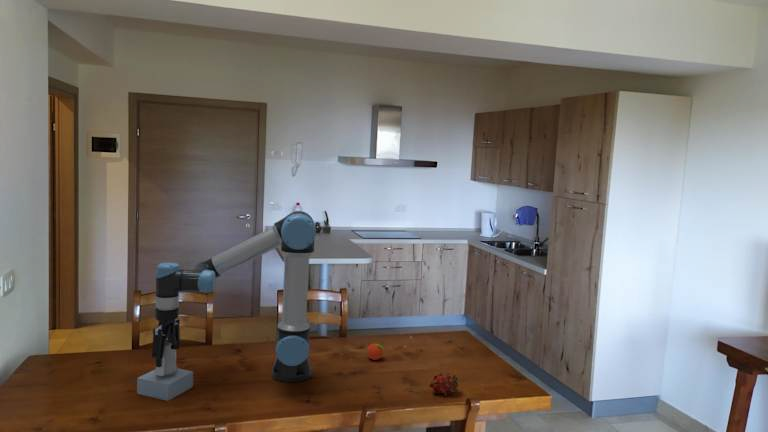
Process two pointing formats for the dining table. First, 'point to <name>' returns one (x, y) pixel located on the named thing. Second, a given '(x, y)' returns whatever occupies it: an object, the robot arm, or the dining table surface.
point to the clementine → (374, 351)
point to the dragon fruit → (444, 383)
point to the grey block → (165, 384)
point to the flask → (168, 360)
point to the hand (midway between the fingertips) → (166, 370)
